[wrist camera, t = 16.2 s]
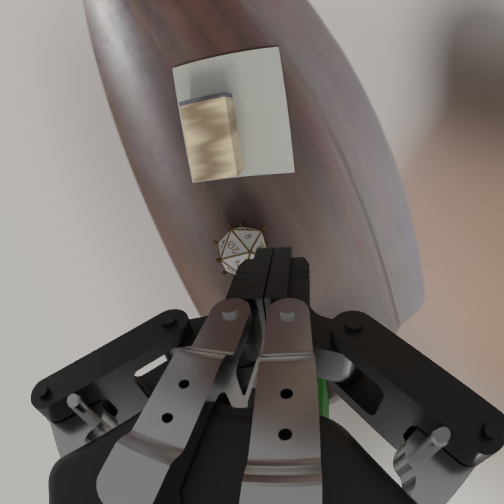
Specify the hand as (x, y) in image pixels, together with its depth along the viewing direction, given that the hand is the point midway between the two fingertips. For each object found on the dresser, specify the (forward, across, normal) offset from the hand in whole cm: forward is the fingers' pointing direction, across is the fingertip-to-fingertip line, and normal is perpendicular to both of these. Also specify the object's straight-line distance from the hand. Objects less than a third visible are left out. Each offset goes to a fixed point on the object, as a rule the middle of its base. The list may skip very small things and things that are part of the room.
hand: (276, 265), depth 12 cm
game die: (+27, +8, +12) cm, 31 cm away
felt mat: (+27, +8, -7) cm, 29 cm away
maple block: (+25, +10, -10) cm, 28 cm away
